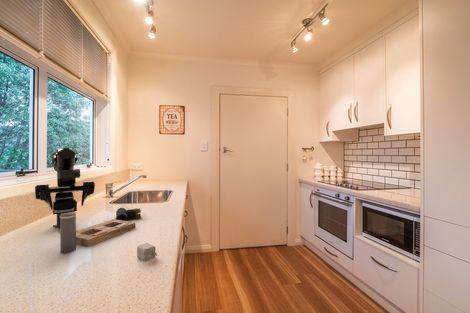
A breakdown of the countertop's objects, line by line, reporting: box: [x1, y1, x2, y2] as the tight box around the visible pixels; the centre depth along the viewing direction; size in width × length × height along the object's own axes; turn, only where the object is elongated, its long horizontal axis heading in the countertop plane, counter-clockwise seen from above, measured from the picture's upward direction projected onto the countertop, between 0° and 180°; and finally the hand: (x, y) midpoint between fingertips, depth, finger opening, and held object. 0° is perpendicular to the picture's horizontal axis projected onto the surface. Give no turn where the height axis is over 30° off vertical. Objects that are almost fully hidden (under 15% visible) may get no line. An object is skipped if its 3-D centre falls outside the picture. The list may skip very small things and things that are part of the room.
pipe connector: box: [115, 207, 142, 221], centre depth 117 cm, size 12×5×15 cm
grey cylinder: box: [59, 211, 77, 254], centre depth 79 cm, size 5×5×13 cm
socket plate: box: [76, 218, 136, 247], centre depth 95 cm, size 14×22×3 cm, turn 158°
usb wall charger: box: [136, 242, 158, 263], centre depth 73 cm, size 4×7×4 cm, turn 51°
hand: (67, 207), depth 85 cm, fingers open, 9 cm apart
